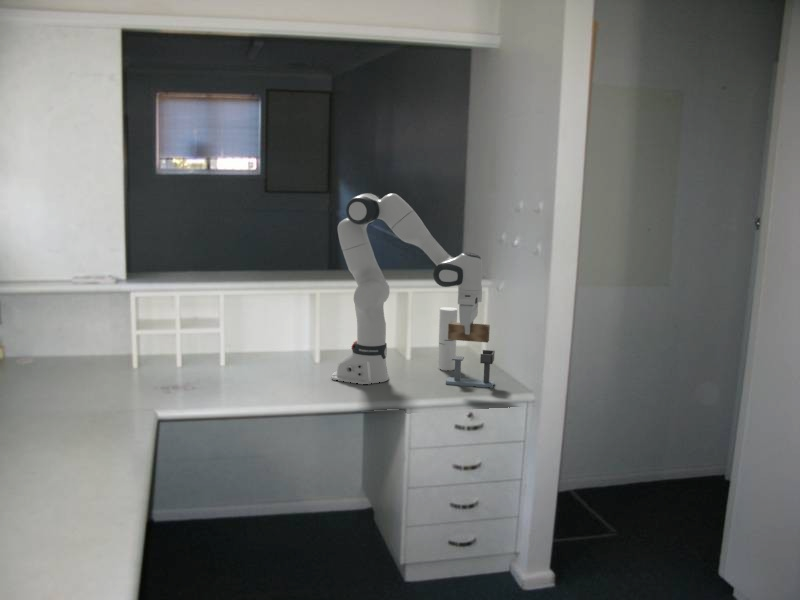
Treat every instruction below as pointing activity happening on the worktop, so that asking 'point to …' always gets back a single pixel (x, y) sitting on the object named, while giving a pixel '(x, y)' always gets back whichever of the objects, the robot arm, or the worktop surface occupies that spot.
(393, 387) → the worktop surface
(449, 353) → the cylindrical container
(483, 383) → the stand
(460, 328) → the rail
